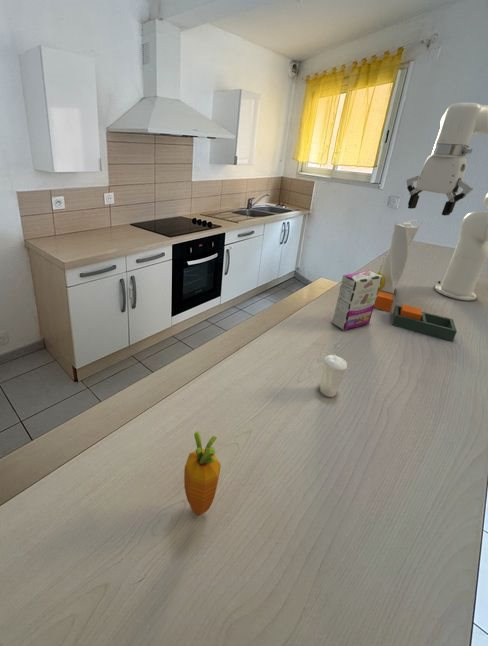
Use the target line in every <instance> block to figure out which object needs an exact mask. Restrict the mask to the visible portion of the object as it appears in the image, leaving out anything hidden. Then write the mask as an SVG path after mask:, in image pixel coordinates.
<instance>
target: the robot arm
mask: <svg viewBox="0 0 488 646" xmlns="http://www.w3.org/2000/svg"><path fill="white" fill-rule="evenodd" d="M439 126H440V129H439V131H438V134H437V137H436V140H435V143H434V146H433V150H432V152H431V155H428V156H427V158H426V160H425V162H424V163H423V166H422V167H421V168H422V169H421V170H420V172H419V175H416V176H413V177H411V178H408V179H406V180H405V181H406V189H407V191H408V192H409V196H410V197H409V200H408V203H407V205H408V206H407V209H411V210H412V209H416V208H417V204H418V202H419V200H420V195H419V194H421V193H423V191H424V192H429V193H436V194H443V195H445V196H446V197H447V199H448V200H447V201H445V203H444V206H443V209H442V212H441V215H442V216H444V217H446V216H450V215H451V214H452V213H453V211H454V208H455V207H456V206H455V205H456V203H458V202H459V201H460V200H462V199H464V198H465V197H467V196H468V195H469V194H470V193H471V192H472V191H473V189H474V188H473V187H472V186H471V185H469V183H467V182H466V181H464V178H465V173H466V169H467V162H468V158H465V157H466V155H468V154H472V153H473V148H470V147H469V145H470V142H471V139H472V137H473V135H474V136H475V135H481V136H482V135H488V104H481V103H478V102H470V101H469V102H466V101H464V102H462V101H461V102H455V103H451V104H449V106H448V107H447V108H446V110H445V112H444V114H443V115H442V117H441V118H440V123H439ZM415 182H416V184H415V185H414V183H415ZM461 189H462V191H460V190H461ZM459 191H460V193H459ZM457 193H458V194H457ZM482 204H483V207H485V208H486V209H487V210H488V192H487V193H486V195H485V196H484V198H483V203H482ZM487 260H488V211H484V210H477V211H476V210H475V211H471V212H469V213H467V214H466V215H465V216H464V217H463V219H462V221H461V225H460V232H459V237H458V241H457V244H456V246H455V249H454V252H453V254H452V256H451V259H450V262H449V264H448V266H447V269H446V271H445V275H444V277H443V280H442V281H441V283H438V284H436V285H435V287H434V289H435V291H436V292H437V293H439V294H440V295H442V296H446V297H448V298H451V299H454V300H461V301H468V302H469V301H475V300H476V299H477V294H476V293H475V292H474V290H475V288H476V285H477V283H478V282H479V278H480V276H481V274H482V272H483V269H484V267H485V265H486V262H487Z"/></svg>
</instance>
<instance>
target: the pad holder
mask: <svg viewBox="0 0 488 646" xmlns="http://www.w3.org/2000/svg"><path fill="white" fill-rule="evenodd" d="M401 307H402V305H401V306H400V305H397V304H395V305H394V309H393V311H392V319H391V320H392V321H391V322H392V326H395V327H398V328H402V329H406V330H410V331H412V332H417V333H420V334H423V335H428V336H431V337H434V338H439V339H441V340H445V341H446V340H447V341H450V342H454V339H455V337H456V334H457V328H456V325H455V322H454V319H453V318H449V317H445V316H441V315H437V314H433V313H429V312H425V311H421V312H422V317H421V319H420V320H416V319H412V318H408V317H404V316H400V315H399V313H400V310H401Z"/></svg>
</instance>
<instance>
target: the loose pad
mask: <svg viewBox="0 0 488 646" xmlns="http://www.w3.org/2000/svg"><path fill="white" fill-rule="evenodd" d="M393 303H394V294H390V293H386V292H381V291H378V294H377V298H376V301H375V305H374V308H373V309H378V310H381V311H385V312H390V311H391V309H392V305H393Z"/></svg>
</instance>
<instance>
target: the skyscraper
mask: <svg viewBox="0 0 488 646" xmlns="http://www.w3.org/2000/svg"><path fill="white" fill-rule="evenodd" d="M411 222H419V225H418V226H415V225H413V223H411ZM422 224H423V221H422V220H420V219H416V218H415V219H410V220H409V221H402V222H395V223H394V225H393V229H392V230H393V231H392V236H391V241H390V246H389V248H388V250H387V253H386V254H385V255H384V258H383V260H382V263H381V264H380V265H379V269H378V270H379V271H378V272H380V273H381V274H382V275H384V277H385V285H384V287H383V288H382V289H381V290H379V291H381V292H386V293H390V294H393V295H395V291H396V290H395V289H396V288H397V285H398V284H399V282H400V280H401V278H402V275H403V274H404V271H405V269H406V265H407V262H408V257H409V248H410V246H411V244H412V242H413V241H414V239H415V237H416V234H417V232H418V231H419V228H420V227H421V225H422Z"/></svg>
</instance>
